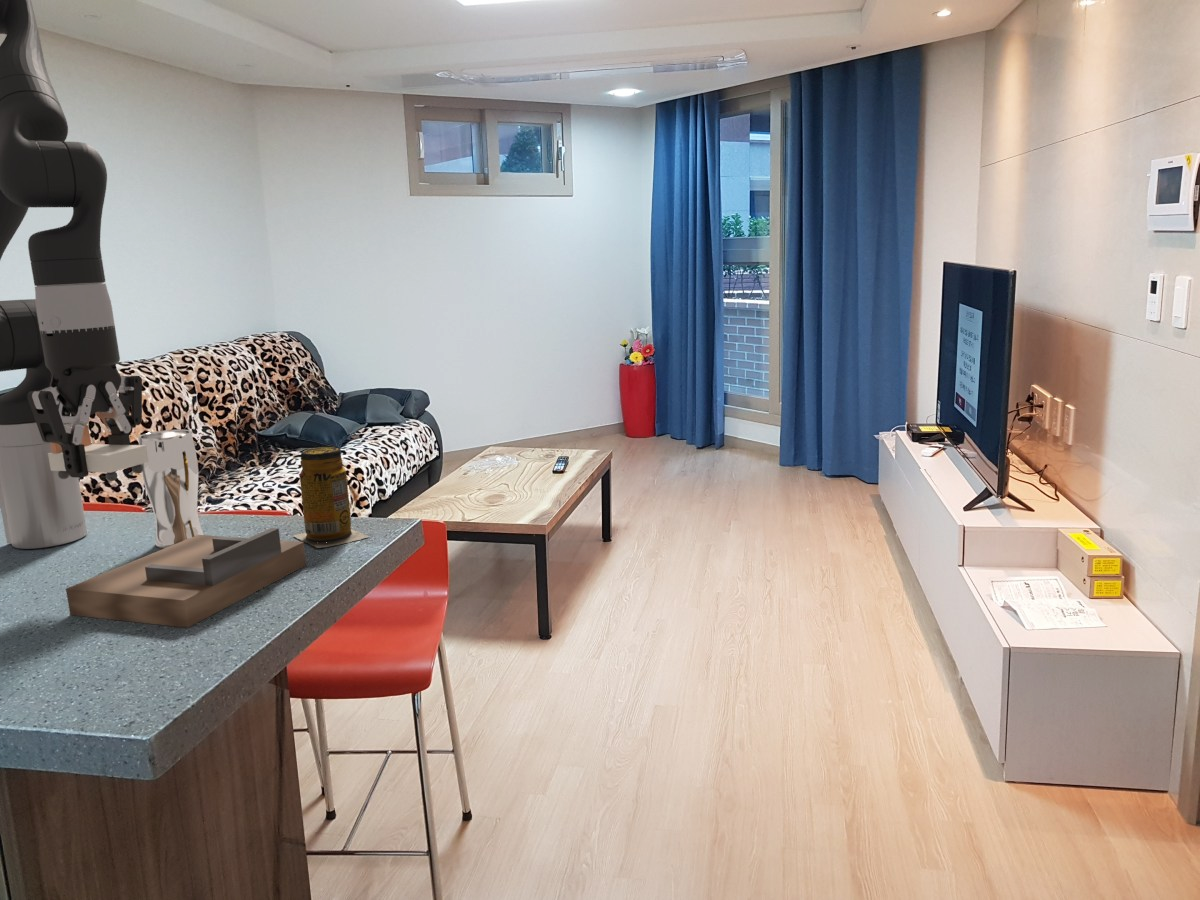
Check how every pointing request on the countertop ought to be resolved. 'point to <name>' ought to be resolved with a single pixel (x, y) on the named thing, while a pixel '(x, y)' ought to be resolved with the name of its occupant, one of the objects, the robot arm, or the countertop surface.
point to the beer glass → (172, 484)
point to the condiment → (325, 499)
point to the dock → (187, 579)
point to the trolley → (102, 457)
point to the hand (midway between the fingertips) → (100, 470)
